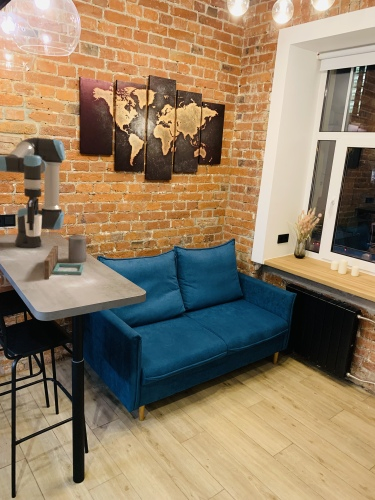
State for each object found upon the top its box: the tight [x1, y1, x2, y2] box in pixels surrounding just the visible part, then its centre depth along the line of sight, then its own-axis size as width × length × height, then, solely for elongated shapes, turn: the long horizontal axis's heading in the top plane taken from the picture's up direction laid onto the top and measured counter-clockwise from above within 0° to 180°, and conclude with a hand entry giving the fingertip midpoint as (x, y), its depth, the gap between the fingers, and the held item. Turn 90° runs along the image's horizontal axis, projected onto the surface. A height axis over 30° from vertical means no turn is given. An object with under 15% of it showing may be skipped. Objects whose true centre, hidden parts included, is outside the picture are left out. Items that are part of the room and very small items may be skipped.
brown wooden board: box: [43, 245, 59, 280], centre depth 188 cm, size 28×2×9 cm, turn 10°
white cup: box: [25, 214, 42, 237], centre depth 182 cm, size 8×8×10 cm
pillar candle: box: [67, 234, 87, 264], centre depth 207 cm, size 10×10×15 cm
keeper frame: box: [52, 262, 84, 276], centre depth 191 cm, size 13×13×2 cm
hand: (33, 234), depth 184 cm, fingers closed on white cup, 7 cm apart
